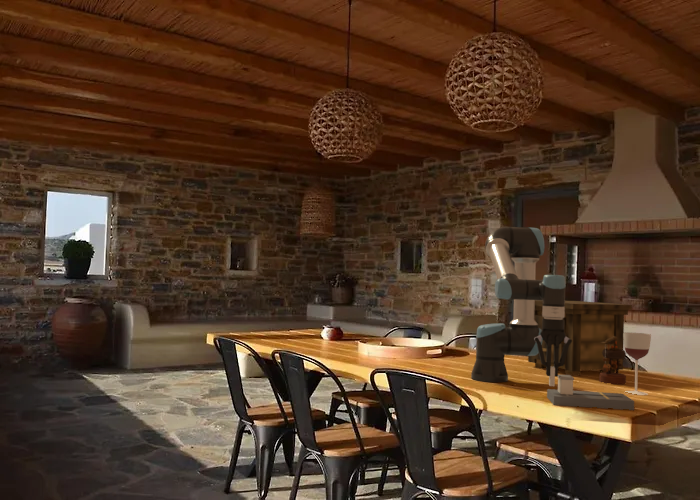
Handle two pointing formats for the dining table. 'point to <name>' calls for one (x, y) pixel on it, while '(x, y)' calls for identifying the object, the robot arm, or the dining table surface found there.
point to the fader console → (591, 399)
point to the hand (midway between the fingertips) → (551, 385)
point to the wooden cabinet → (585, 334)
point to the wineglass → (636, 351)
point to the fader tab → (565, 384)
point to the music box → (612, 363)
